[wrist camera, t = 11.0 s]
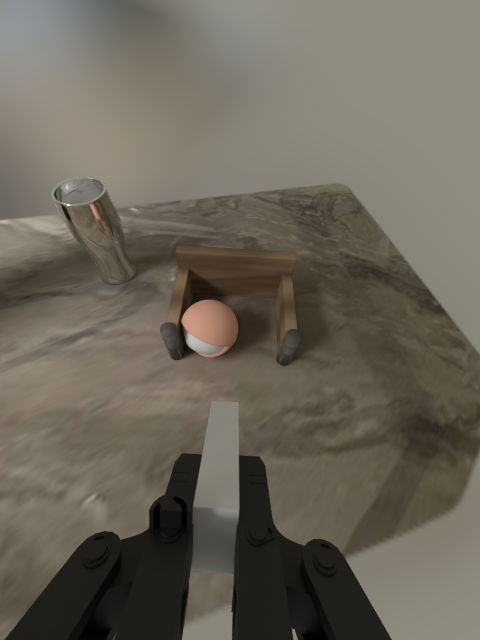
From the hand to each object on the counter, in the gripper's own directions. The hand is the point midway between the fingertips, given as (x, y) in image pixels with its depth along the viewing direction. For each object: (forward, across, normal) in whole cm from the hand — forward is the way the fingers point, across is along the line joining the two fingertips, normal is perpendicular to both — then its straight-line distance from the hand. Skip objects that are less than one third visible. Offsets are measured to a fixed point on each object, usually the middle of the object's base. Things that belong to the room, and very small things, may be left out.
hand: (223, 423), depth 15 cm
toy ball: (+25, -3, -3) cm, 25 cm away
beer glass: (+34, -20, +6) cm, 40 cm away
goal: (+27, 0, 0) cm, 27 cm away
